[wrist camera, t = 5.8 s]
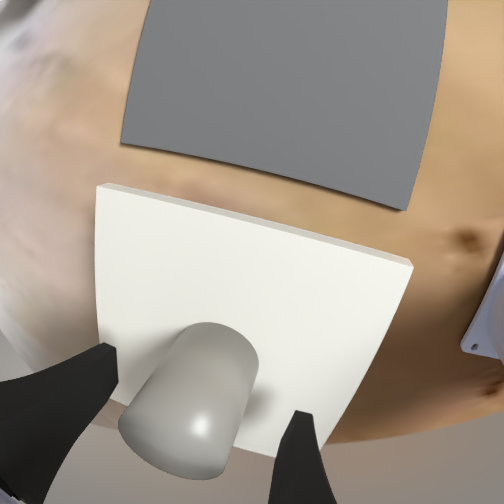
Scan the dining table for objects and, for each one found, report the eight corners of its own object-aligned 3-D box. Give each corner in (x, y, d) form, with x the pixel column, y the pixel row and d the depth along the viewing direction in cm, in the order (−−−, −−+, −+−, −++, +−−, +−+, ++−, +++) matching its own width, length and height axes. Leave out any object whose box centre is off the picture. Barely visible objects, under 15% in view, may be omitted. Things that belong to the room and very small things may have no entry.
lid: (408, 259, 11) (463, 357, 5) (311, 453, 15) (297, 543, 10) (108, 182, 12) (-3, 219, 7) (113, 387, 17) (60, 454, 11)
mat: (447, -42, 9) (449, -45, 8) (404, 209, 14) (405, 211, 14) (184, -80, 11) (182, -83, 10) (124, 142, 16) (120, 142, 16)
